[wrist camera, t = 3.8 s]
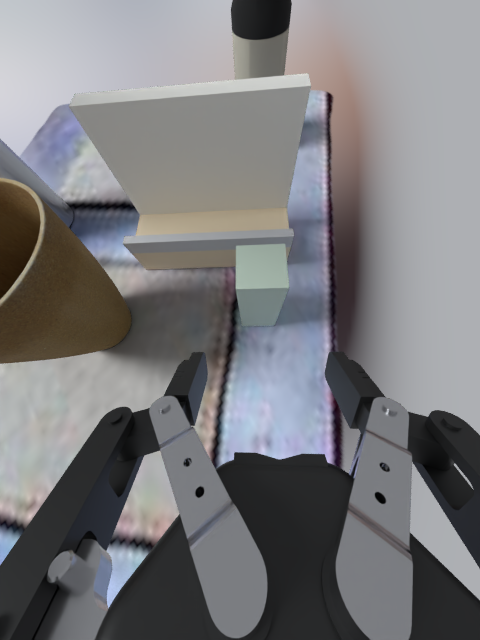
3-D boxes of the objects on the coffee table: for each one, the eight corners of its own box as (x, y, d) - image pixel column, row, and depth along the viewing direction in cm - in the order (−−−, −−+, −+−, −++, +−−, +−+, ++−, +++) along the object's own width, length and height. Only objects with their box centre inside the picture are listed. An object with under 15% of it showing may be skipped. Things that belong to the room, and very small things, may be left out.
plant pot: (135, 264, 31) (25, 150, 16) (172, 341, 27) (67, 284, 11) (45, 309, 29) (-173, 229, 14) (68, 400, 25) (-216, 423, 10)
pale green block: (274, 325, 26) (289, 287, 16) (241, 326, 27) (235, 289, 16) (272, 296, 28) (285, 243, 18) (241, 297, 28) (236, 245, 18)
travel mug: (243, 156, 38) (235, -30, 21) (234, 132, 40) (222, -51, 23) (282, 148, 38) (306, -44, 21) (271, 124, 41) (285, -64, 24)
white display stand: (285, 264, 29) (322, 138, 14) (146, 269, 31) (43, 157, 16) (281, 219, 32) (308, 73, 17) (154, 225, 34) (74, 93, 18)
